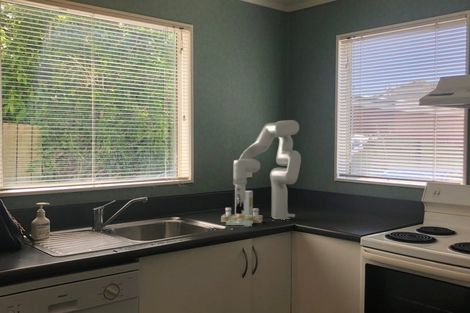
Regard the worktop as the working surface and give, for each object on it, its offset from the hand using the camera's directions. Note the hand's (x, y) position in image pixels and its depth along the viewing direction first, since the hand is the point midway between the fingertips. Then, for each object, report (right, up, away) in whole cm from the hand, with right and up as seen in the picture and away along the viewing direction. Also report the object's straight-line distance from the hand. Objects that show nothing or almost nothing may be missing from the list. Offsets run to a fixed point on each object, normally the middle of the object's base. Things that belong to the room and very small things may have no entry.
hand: (239, 212), depth 265 cm
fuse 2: (+9, -7, +8) cm, 14 cm away
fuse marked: (0, -7, 0) cm, 7 cm away
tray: (0, -7, 0) cm, 7 cm away
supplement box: (+3, -7, +27) cm, 28 cm away
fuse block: (+1, -7, +10) cm, 12 cm away
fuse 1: (-7, -7, +11) cm, 14 cm away
